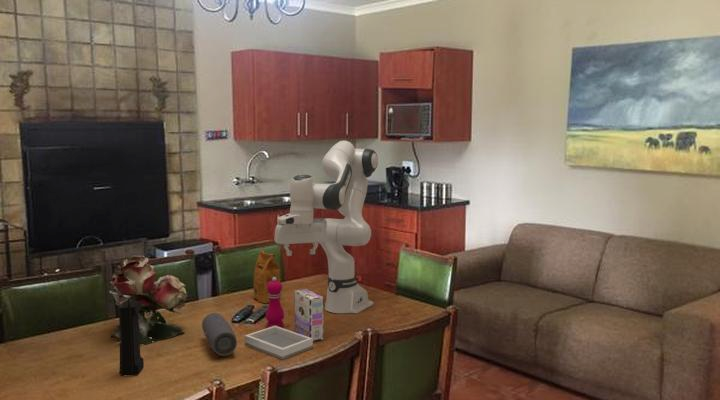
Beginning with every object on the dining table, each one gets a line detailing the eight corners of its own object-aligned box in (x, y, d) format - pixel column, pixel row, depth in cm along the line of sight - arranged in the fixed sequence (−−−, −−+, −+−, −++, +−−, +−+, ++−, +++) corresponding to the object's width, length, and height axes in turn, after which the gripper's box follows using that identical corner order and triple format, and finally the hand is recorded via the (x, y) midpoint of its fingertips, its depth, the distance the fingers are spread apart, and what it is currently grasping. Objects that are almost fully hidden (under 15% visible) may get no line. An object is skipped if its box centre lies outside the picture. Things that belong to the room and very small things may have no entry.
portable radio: (126, 366, 202) (122, 292, 199) (144, 365, 203) (141, 292, 199) (118, 376, 194) (114, 300, 191) (138, 375, 195) (134, 299, 192)
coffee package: (270, 294, 284) (269, 248, 281) (283, 301, 274) (282, 253, 271) (250, 298, 279) (249, 250, 276) (263, 305, 269) (262, 255, 266)
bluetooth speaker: (200, 338, 228) (199, 312, 226) (225, 335, 231) (225, 309, 230) (211, 361, 207) (210, 332, 206) (238, 357, 211) (238, 329, 209)
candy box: (324, 339, 227) (324, 296, 225) (309, 342, 224) (309, 299, 222) (307, 328, 239) (307, 287, 237) (294, 331, 236) (293, 289, 234)
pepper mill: (280, 330, 237) (280, 279, 234) (263, 328, 238) (262, 278, 236) (286, 324, 244) (286, 275, 241) (269, 322, 245) (268, 274, 243)
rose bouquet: (197, 330, 236) (195, 254, 232) (125, 351, 215) (120, 268, 211) (163, 315, 254) (160, 244, 250) (92, 333, 232) (88, 256, 228)
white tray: (275, 334, 232) (275, 325, 232) (312, 347, 219) (312, 338, 219) (244, 344, 222) (244, 335, 221) (282, 359, 208) (282, 349, 208)
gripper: (323, 216, 237) (322, 252, 238) (273, 218, 228) (272, 255, 229) (330, 218, 231) (329, 254, 232) (279, 220, 222) (278, 257, 223)
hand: (300, 254), depth 230 cm, fingers open, 8 cm apart
